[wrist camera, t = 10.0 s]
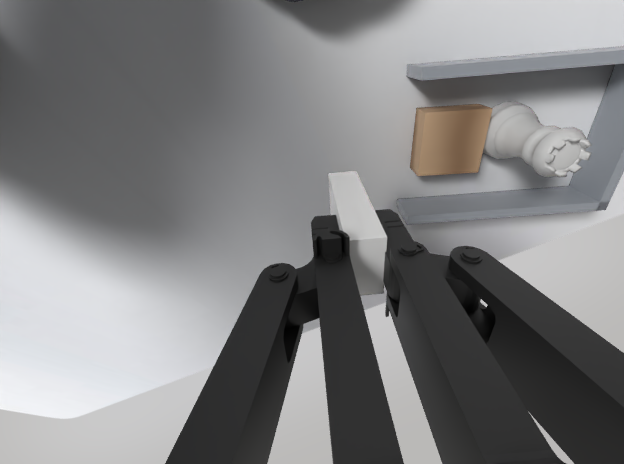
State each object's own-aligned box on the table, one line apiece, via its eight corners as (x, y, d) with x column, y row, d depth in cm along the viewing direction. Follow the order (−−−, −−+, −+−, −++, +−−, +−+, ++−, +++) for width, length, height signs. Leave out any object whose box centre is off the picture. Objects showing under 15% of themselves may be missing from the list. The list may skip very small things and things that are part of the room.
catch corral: (396, 206, 29) (407, 224, 26) (407, 64, 23) (422, 67, 20) (574, 193, 29) (605, 209, 26) (633, 45, 23) (683, 44, 20)
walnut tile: (408, 166, 28) (417, 176, 26) (415, 107, 25) (425, 112, 23) (464, 162, 28) (478, 172, 25) (476, 103, 25) (492, 108, 23)
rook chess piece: (486, 96, 24) (557, 114, 18) (537, 104, 25) (626, 126, 18) (463, 151, 27) (518, 186, 20) (511, 158, 27) (581, 195, 20)
